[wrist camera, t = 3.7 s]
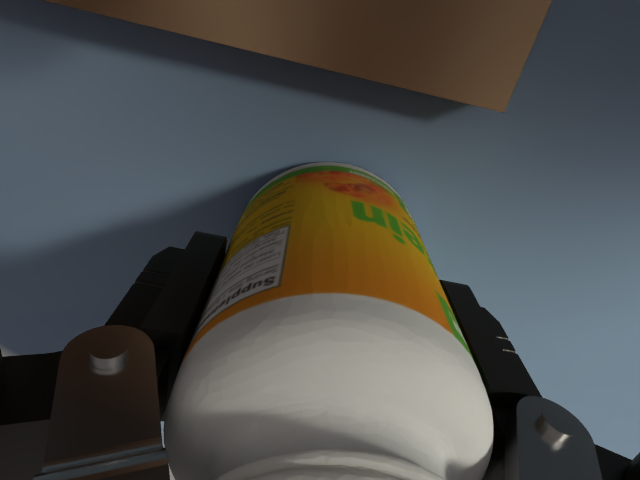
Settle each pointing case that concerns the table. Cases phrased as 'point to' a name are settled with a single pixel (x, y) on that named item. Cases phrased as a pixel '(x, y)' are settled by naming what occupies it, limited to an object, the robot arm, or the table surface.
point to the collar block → (366, 37)
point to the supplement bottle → (327, 347)
